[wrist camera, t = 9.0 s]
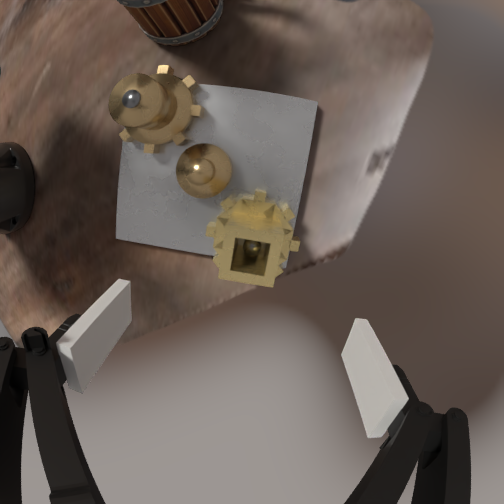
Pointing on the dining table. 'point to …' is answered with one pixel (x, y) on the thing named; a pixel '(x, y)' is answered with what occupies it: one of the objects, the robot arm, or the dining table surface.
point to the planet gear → (252, 228)
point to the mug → (175, 18)
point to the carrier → (203, 156)
